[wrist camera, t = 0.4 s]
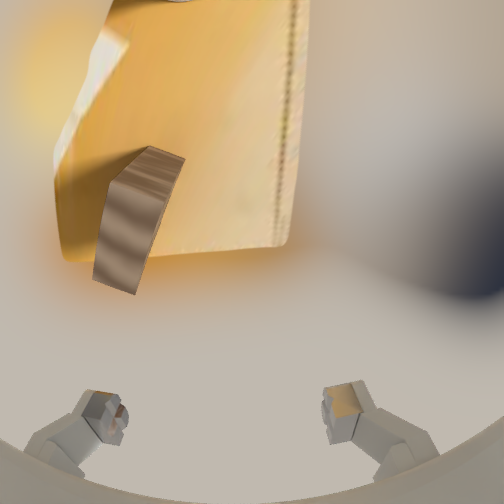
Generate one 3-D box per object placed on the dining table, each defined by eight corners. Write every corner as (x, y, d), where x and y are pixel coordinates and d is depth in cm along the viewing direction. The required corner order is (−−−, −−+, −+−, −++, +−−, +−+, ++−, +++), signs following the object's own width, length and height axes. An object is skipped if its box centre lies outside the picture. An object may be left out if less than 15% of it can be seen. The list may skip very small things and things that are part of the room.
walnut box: (149, 145, 50) (109, 182, 32) (185, 159, 53) (164, 202, 34) (126, 218, 59) (92, 279, 40) (157, 229, 61) (135, 295, 43)
